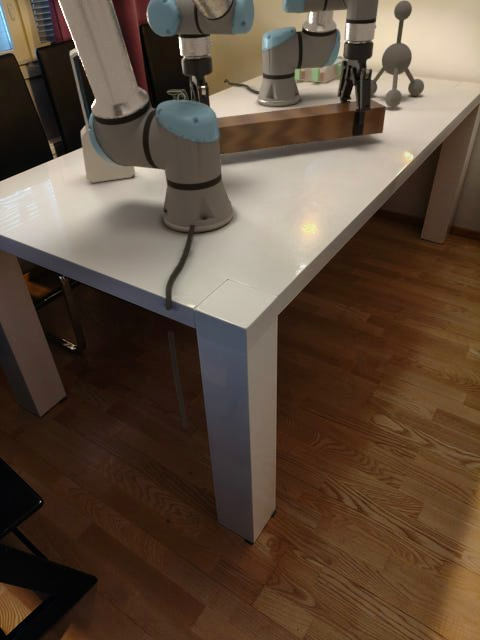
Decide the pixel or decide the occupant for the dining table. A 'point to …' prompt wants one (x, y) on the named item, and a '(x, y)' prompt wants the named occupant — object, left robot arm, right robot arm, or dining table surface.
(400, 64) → the molecular model
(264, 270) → the dining table surface
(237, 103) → the dining table surface
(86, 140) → the electronic device
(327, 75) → the decorative block
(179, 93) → the grenade
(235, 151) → the wide beam
